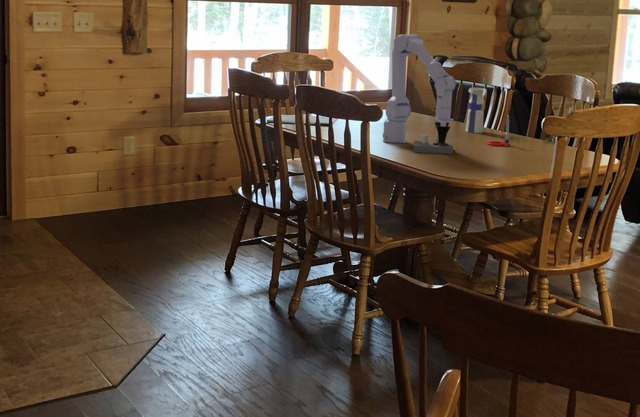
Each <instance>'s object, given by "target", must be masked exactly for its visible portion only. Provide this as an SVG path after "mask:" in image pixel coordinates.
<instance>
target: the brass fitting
mask: <svg viewBox="0 0 640 417" xmlns="http://www.w3.org/2000/svg"><path fill="white" fill-rule="evenodd" d="M435 130H436V132H435V141H434V142H435V146H446V145H447V142H448V135H447V136H446V140H445V143H444V144H439V141H438V132H437V129H435Z"/></svg>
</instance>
